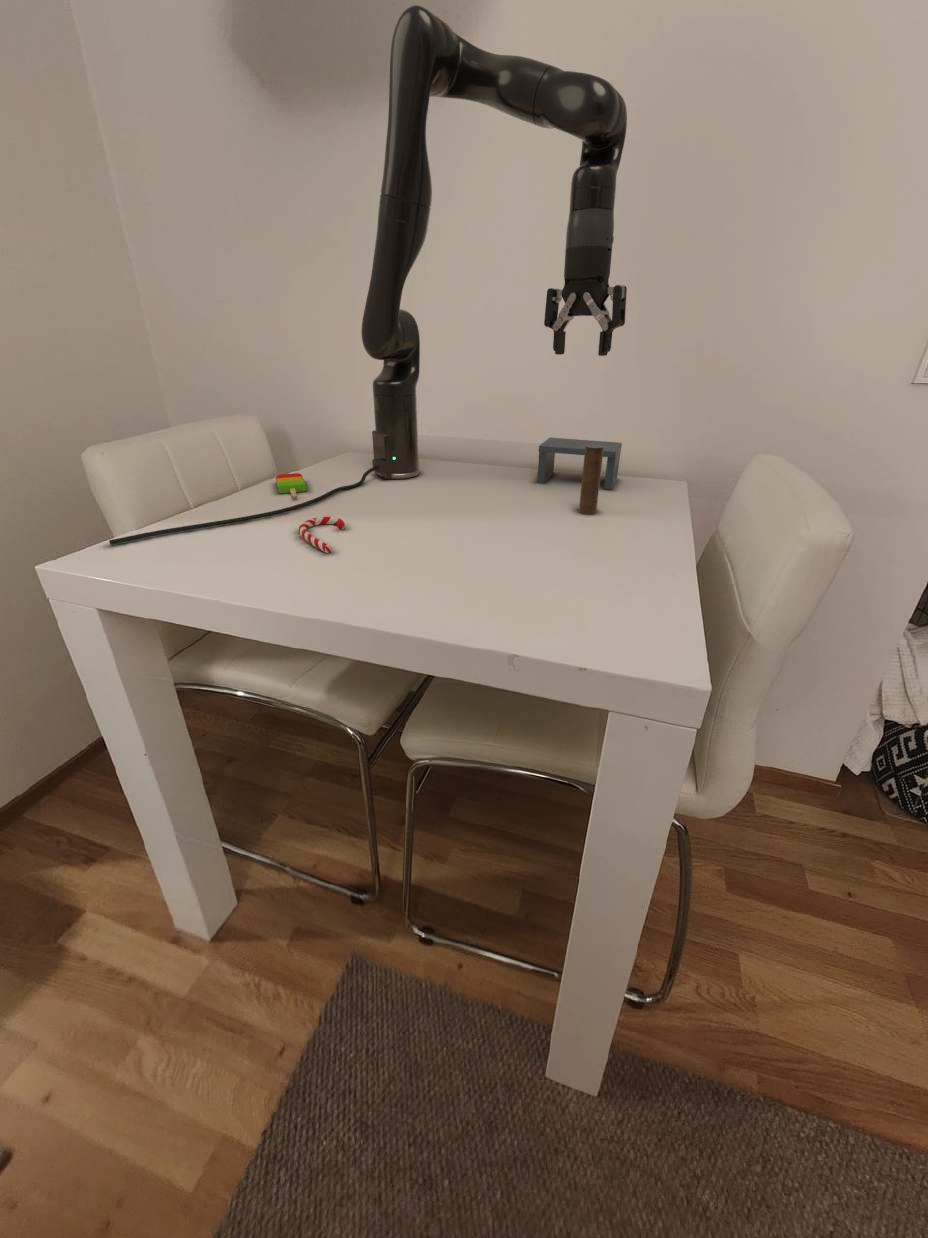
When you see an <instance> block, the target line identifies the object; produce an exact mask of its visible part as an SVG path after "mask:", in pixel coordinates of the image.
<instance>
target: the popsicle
mask: <svg viewBox="0 0 928 1238" xmlns="http://www.w3.org/2000/svg"><path fill="white" fill-rule="evenodd" d="M275 481H276V487H277V492H278V494H290V496H291V498H297V497H298V495H297V493H305V492H306V491H307V486H306V482H305V480H304V477H303V475H302V474H301V473H299V472H298V473H297V472H294V473H281V474H277V475H276V476H275Z"/></svg>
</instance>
